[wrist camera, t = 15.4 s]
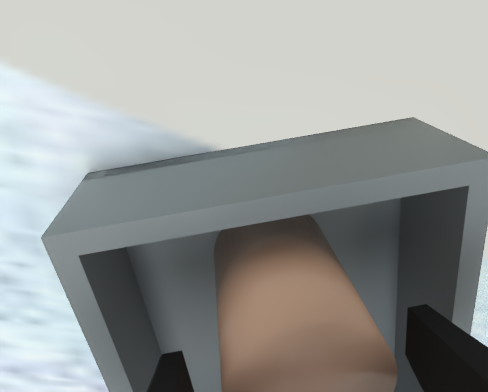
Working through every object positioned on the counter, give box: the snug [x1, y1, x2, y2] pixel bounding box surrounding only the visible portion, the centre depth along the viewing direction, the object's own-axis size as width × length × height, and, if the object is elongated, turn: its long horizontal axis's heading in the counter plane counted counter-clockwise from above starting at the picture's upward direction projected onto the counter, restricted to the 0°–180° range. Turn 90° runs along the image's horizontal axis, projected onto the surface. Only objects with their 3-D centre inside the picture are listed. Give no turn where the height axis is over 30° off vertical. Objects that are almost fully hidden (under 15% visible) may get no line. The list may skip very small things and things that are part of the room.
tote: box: [41, 118, 488, 392], centre depth 17 cm, size 18×14×5 cm
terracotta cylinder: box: [214, 214, 398, 392], centre depth 14 cm, size 5×5×7 cm
